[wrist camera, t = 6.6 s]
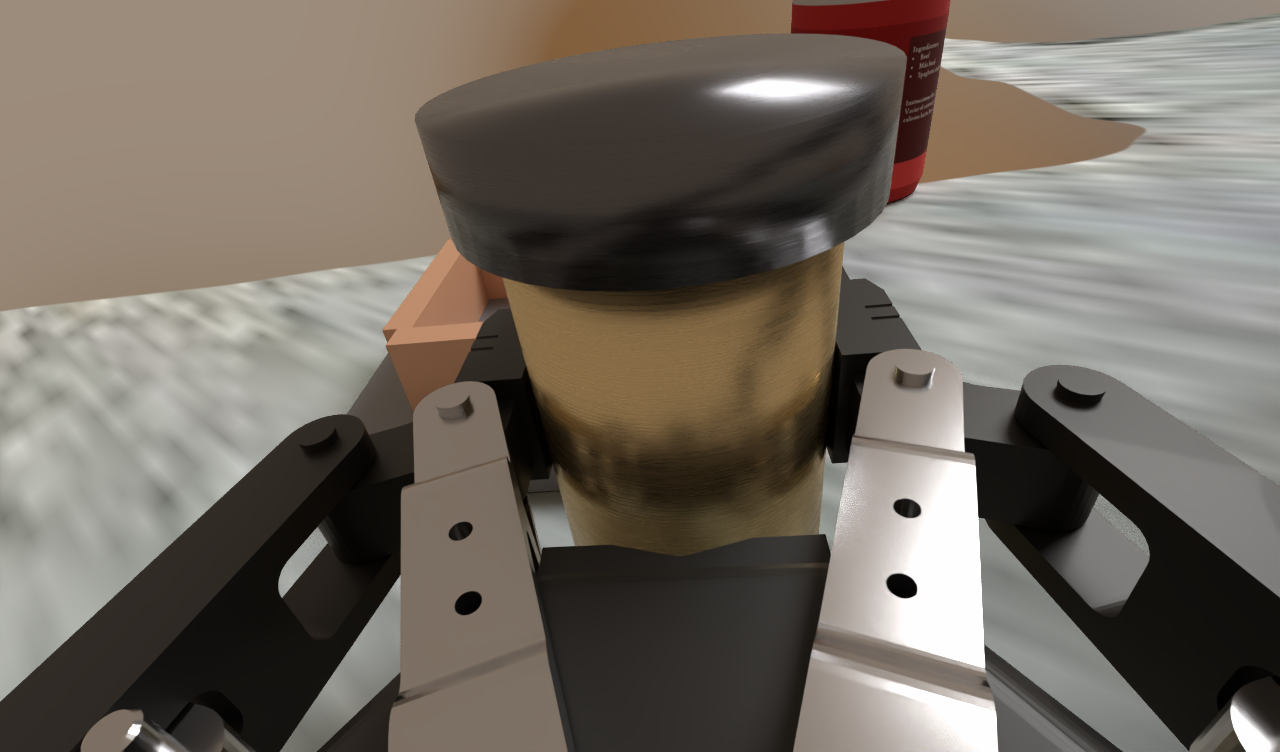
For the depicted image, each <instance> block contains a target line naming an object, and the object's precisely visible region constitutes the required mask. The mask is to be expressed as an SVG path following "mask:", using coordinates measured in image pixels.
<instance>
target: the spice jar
mask: <svg viewBox="0 0 1280 752" xmlns="http://www.w3.org/2000/svg"><path fill="white" fill-rule="evenodd" d="M906 62H907V57H906V55H905V53H904V52H903V51H902V50H900V49H899V48H897V47H896V46H893V45H890V44H888V43H885V42H881V41H876V40H872V39H866V38H860V37H853V36H842V35H827V34H754V35H736V36H721V37H707V38H697V39H686V40H676V41H667V42H658V43H651V44H643V45H635V46H629V47H622V48H615V49H609V50H603V51H597V52H591V53H586V54H580V55H575V56H570V57H565V58H560V59H555V60H551V61H545V62H541V63H537V64H533V65H529V66H524V67H520V68H516V69H512V70H509V71H505V72H501V73H498V74H495V75H491V76H488V77H484V78H481V79H479V80H475V81H473V82H470V83H467V84H464V85H462V86H459V87H456V88H454V89H452V90H449V91H447V92H445V93H443V94H441V95H439V96H437V97H435V98H433V99H432V100H430V101H428V102H427V103H426V104H424V105H423V106H422V107H421V108H420V109H419V110H418V112H417V113H416V114H415V122H416V126H417V129H418V132H419V135H420V138H421V141H422V145H423V148H424V151H425V154H426V158H427V161H428V164H429V167H430V170H431V174H432V176H433V180H434V183H435V187H436V190H437V193H438V196H439V199H440V203H441V206H442V209H443V212H444V216H445V218H446V222H447V225H448V228H449V232H450V235H451V238H452V241H453V243H454V245H455V247H456V249H457V251H458V252H459V253H460V254H461V255H462V256H463V257H464V258H465V259H466V260H467V261H469V262H470V263H472V264H474V265H475V266H477V267H478V268H480V269H482V270H484V271H487V272H489V273H492V274H494V275H497V276H499V277H502V278H503V282H504V286H505V289H506V293H507V297H508V300H509V304H510V308H511V312H512V315H513V319H514V323H515V326H516V330H517V334H518V337H519V341H520V345H521V348H522V352H523V356H524V360H525V363H526V367H527V371H528V374H529V378H530V382H531V385H532V389H533V393H534V396H535V400H536V404H537V408H538V411H539V415H540V419H541V422H542V426H543V430H544V433H545V437H546V441H547V445H548V448H549V452H550V456H551V459H552V463H553V467H554V470H555V474H556V478H557V481H558V485H559V489H560V493H561V496H562V500H563V504H564V507H565V511H566V515H567V518H568V522H569V526H570V529H571V533H572V537H573V541H574V544H575V546H590V545H615V546H621V547H627V548H633V549H638V550H644V551H650V552H656V553H661V554H667V555H673V556H686V555H691V554H694V553H698V552H702V551H706V550H709V549H713V548H717V547H721V546H724V545H728V544H732V543H736V542H739V541H743V540H747V539H750V538H757V537H778V536H798V535H819V525H820V514H821V502H822V491H823V479H824V468H825V456H826V445H827V434H828V422H829V411H830V399H831V388H832V376H833V365H834V353H835V342H836V331H837V319H838V308H839V296H840V285H841V273H842V262H843V250H844V241H846V240H848V239H850V238H852V237H853V236H855V235H856V234H858V233H859V232H860V231H862V230H863V229H864V228H866V227H867V226H869V225H870V224H871V223H872V222H873V221H874V220H875V219H876V218H877V217H878V216H879V215H880V214H881V213H882V211H883V209H884V207H885V206H886V204H887V202H888V200H889V194H890V188H891V180H892V172H893V164H894V156H895V148H896V141H897V133H898V125H899V117H900V109H901V101H902V94H903V86H904V78H905V70H906Z"/></svg>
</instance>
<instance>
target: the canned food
mask: <svg viewBox="0 0 1280 752" xmlns="http://www.w3.org/2000/svg"><path fill="white" fill-rule="evenodd" d="M949 6H950V0H793V2H792V23H791V34H827V35H842V36H853V37H860V38H866V39H872V40H876V41H881V42H885V43H888V44H890V45H893V46H896V47H897V48H899V49H900V50H902V51H903V52H904V53H905V55H906V57H907V62H906V70H905V78H904V86H903V94H902V101H901V109H900V117H899V125H898V133H897V141H896V148H895V156H894V164H893V172H892V180H891V188H890V194H889V200H888V202H887V203H889V202H893V201H896V200H899V199H902V198H904V197H906V196H907V195H909V194H911V193H912V192H913V191H914V190H915V188H916V186H917V184H918V182H919V180H920V178H921V176H922V174H923V168H924V163H925V157H926V151H927V145H928V138H929V132H930V126H931V119H932V114H933V107H934V101H935V95H936V89H937V83H938V77H939V71H940V64H941V58H942V52H943V46H944V40H945V33H946V27H947V21H948V15H949Z"/></svg>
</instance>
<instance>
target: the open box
mask: <svg viewBox="0 0 1280 752" xmlns="http://www.w3.org/2000/svg"><path fill="white" fill-rule="evenodd" d="M509 308H510V304H509V300H508V297H507V293H506V289H505V286H504V282H503V278H502V277H499V276H497V275H494V274H492V273H489V272H487V271H484V270H482V269H480V268H478V267H477V266H475V265H474V264H472V263H470V262H469V261H467V260H466V259H465V258H464V257H463V256H462V255H461V254H460V253H459V252H458V251H457V249H456V247H455V245H454V243H453V241H452V239H449V240H448V241H447V242H446V244H445V245H444V246H443V248H442V249H441V250H440V252H439V253H438V255H437V256H436V257H435V259H434V260H433V261H432V263H431V264H430V266H429V267H428V268H427V270H426V271H425V272H424V274H423V275H422V276H421V278H420V279H419V281H418V282H417V283H416V285H415V286H414V287H413V289H412V290H411V292H410V293H409V294H408V296H407V297H406V298H405V300H404V301H403V303H402V304H401V305H400V307H399V308H398V309H397V311H396V312H395V313H394V315H393V316H392V318H391V319H390V320H389V322H388V323H387V324H386V326H385V327H384V329H383V330H382V331H383V333H384V335H385V338H386V340H387V344H386V348H387V350H388V354H387V356H386V357H385V359H384V360H383V362H382V363H381V365H380V366H379V368H378V369H377V371H376V372H375V373H374V375H373V376H372V378H371V379H370V381H369V382H368V384H367V385H366V387H365V388H364V390H363V391H362V393H361V394H360V396H359V397H358V399H357V400H356V402H355V403H354V405H353V406H352V408H351V409H350V411H349V412H348V414H347V415H352V416H355V417H358V418H359V419H360V420H361V421H362V422H363V424H364V426H365V428H366V430H367V432H368V434H369V435H370V434H374V433H377V432H381V431H384V430H388V429H392V428H395V427H399V426H402V425H405V424H409V423H411V422H413V413H414V411H415V408H416V407H417V405H418V404H419V403H420V402H421V401H422V400H423V399H424V398H425V397H426V396H427V395H429V394H430V393H432V392H434V391H435V390H437V389H439V388H442V387H444V386H447V385H450V384H454V382H455V380H456V378H457V376H458V374H459V372H460V369H461V367H462V365H463V363H464V361H465V359H466V357H467V355H468V353H469V352H471V346H472V344H473V342H474V340H476V336H477V334H478V332H479V330H480V328H481V326H482V324H483V322H484V321H485V320H487V319H488V318H489V317H490V316H491V315H492V314H494V313H495V312H496V311H497V310H498V309H509ZM542 491H560V489H559V485H558V481H557V478H556V474H555V470H554V467H553V465H552V469H551V474H550V479H542V480H530V484H529V488H528V492H542Z"/></svg>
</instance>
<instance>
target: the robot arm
mask: <svg viewBox="0 0 1280 752" xmlns="http://www.w3.org/2000/svg"><path fill="white" fill-rule="evenodd" d="M826 446H827V449H828V453H829V456H830V459H831V462H832V463H846V462H848V464H847V470H846V475H845V481H844V486H843V492H842V497H841V502H840V508H839V513H838V519H837V524H836V530H835V535H834V541H833V546H832V552H831V553H830V550H829V546H828V542H827V539H826V535H825V534H819V535H798V536H778V537H757V538H750V539H747V540H743V541H739V542H736V543H732V544H728V545H724V546H721V547H717V548H713V549H709V550H706V551H702V552H698V553H694V554H691V555H686V556H673V555H667V554H661V553H656V552H650V551H644V550H638V549H633V548H627V547H621V546H615V545H590V546H569V547H548V548H543V549H542V551H541V547H540V543H539V539H538V535H537V531H536V527H535V523H534V519H533V515H532V510H531V506H530V503H529V500H528V497H527V492H528V488H529V484H530V480H542V479H550V474H551V469H552V465H553V463H552V459H551V456H550V452H549V448H548V445H547V441H546V437H545V433H544V430H543V426H542V422H541V419H540V415H539V411H538V408H537V404H536V400H535V396H534V393H533V389H532V385H531V382H530V378H529V374H528V371H527V367H526V363H525V360H524V356H523V352H522V348H521V345H520V341H519V337H518V334H517V330H516V326H515V323H514V319H513V315H512V312H511V308H509V309H498V310H497V311H496V312H495V313H494V314H492V315H491V316H490V317H489V318H488V319H487V320H485V321H484V322H483V324H482V326H481V328H480V330H479V332H478V334H477V336H476V340H474V342H473V344H472V346H471V352H469V353H468V355H467V357H466V359H465V361H464V363H463V365H462V367H461V369H460V372H459V374H458V376H457V378H456V380H455V382H454V384H450V385H447V386H444V387H442V388H439V389H437V390H435V391H434V392H432V393H430V394H429V395H427V396H426V397H425V398H424V399H423V400H422V401H421V402H420V403H419V404H418V405H417V407H416V408H415V411H414V413H413V422H411V423H409V424H405V425H402V426H399V427H395V428H392V429H388V430H384V431H381V432H377V433H374V434H370V435H369V434H368V432H367V430H366V428H365V426H364V424H363V422H362V421H361V420H360V419H359V418H358V417H355V416H352V415H343V414H341V415H332V416H327V417H323V418H320V419H317V420H315V421H312V422H310V423H308V424H306V425H304V426H302V427H300V428H299V429H297V430H296V431H294V432H293V433H291V434H290V435H289V436H288V437H287V438H285V439H284V440H283V441H282V442H281V443H280V444H279V445H278V446H277V447H276V448H275V449H274V450H272V451H271V452H270V453H269V454H268V455H267V456H266V457H265V458H264V459H263V460H262V461H261V462H259V463H258V464H257V465H256V466H255V467H254V468H253V469H252V470H251V471H250V472H249V473H248V474H246V475H245V476H244V477H243V478H242V479H241V480H240V481H239V482H238V483H237V484H236V485H235V486H233V487H232V488H231V489H230V490H229V491H228V492H227V493H226V494H225V495H224V496H223V497H222V498H220V499H219V500H218V501H217V502H216V503H215V504H214V505H213V506H212V507H211V508H210V509H209V510H207V511H206V512H205V513H204V514H203V515H202V516H201V517H200V518H199V519H198V520H197V521H196V522H194V523H193V524H192V525H191V526H190V527H189V528H188V529H187V530H186V531H185V532H184V533H183V534H182V535H180V536H179V537H178V538H177V539H176V540H175V541H174V542H173V543H172V544H171V545H170V546H169V547H167V548H166V549H165V550H164V551H163V552H162V553H161V554H160V555H159V556H158V557H157V558H156V559H154V560H153V561H152V562H151V563H150V564H149V565H148V566H147V567H146V568H145V569H144V570H143V571H141V572H140V573H139V574H138V575H137V576H136V577H135V578H134V579H133V580H132V581H131V582H130V583H128V584H127V585H126V586H125V587H124V588H123V589H122V590H121V591H120V592H119V593H118V594H117V595H115V596H114V597H113V598H112V599H111V600H110V601H109V602H108V603H107V604H106V605H105V606H104V607H102V608H101V609H100V610H99V611H98V612H97V613H96V614H95V615H94V616H93V617H92V618H91V619H89V620H88V621H87V622H86V623H85V624H84V625H83V626H82V627H81V628H80V629H79V630H78V631H76V632H75V633H74V634H73V635H72V636H71V637H70V638H69V639H68V640H67V641H66V642H65V643H63V644H62V645H61V646H60V647H59V648H58V649H57V650H56V651H55V652H54V653H53V654H52V655H50V656H49V657H48V658H47V659H46V660H45V661H44V662H43V663H42V664H41V665H40V666H39V667H37V668H36V669H35V670H34V671H33V672H32V673H31V674H30V675H29V676H28V677H27V678H26V679H24V680H23V681H22V682H21V683H20V684H19V685H18V686H17V687H16V688H15V689H14V690H13V691H11V692H10V693H9V694H8V695H7V696H6V697H5V698H4V699H3V700H2V701H1V702H0V752H280V750H281V749H282V748H283V746H284V745H285V743H286V742H287V740H288V739H289V737H290V736H291V734H292V733H293V731H294V730H295V728H296V727H297V726H298V724H299V723H300V721H301V720H302V718H303V717H304V715H305V714H306V712H307V711H308V709H309V708H310V707H311V705H312V704H313V702H314V701H315V699H316V698H317V696H318V695H319V693H320V692H321V690H322V689H323V687H324V686H325V685H326V683H327V682H328V680H329V679H330V677H331V676H332V674H333V673H334V671H335V670H336V668H337V667H338V666H339V664H340V663H341V661H342V660H343V658H344V657H345V655H346V654H347V652H348V651H349V649H350V648H351V646H352V645H353V644H354V642H355V641H356V639H357V638H358V636H359V635H360V633H361V632H362V630H363V629H364V627H365V626H366V624H367V623H368V622H369V620H370V619H371V617H372V616H373V614H374V613H375V611H376V610H377V608H378V607H379V605H380V604H381V603H382V601H383V600H384V598H385V597H386V595H387V594H388V592H389V591H390V589H391V588H392V586H393V585H394V583H395V582H396V581H397V579H398V578H399V576H400V575H401V672H400V673H399V674H398V675H397V676H396V677H395V678H394V679H393V680H392V681H391V682H390V683H389V684H388V685H387V686H385V687H384V688H383V689H382V690H381V691H380V692H379V693H378V694H377V695H376V696H375V697H374V698H373V699H372V700H371V701H370V702H369V703H368V704H367V705H366V706H364V707H363V708H362V709H361V710H360V711H359V712H358V713H357V714H356V715H355V716H354V717H353V718H352V719H351V720H350V721H349V722H348V723H347V724H346V725H344V726H343V727H342V728H341V729H340V730H339V731H338V732H337V733H336V734H335V735H334V736H333V737H332V738H331V739H330V740H329V741H328V742H327V743H326V744H325V745H323V746H322V747H321V748H320V749H319V750H318V751H317V752H1122V751H1121V750H1120V749H1119V748H1117V747H1116V746H1115V745H1113V744H1112V743H1111V742H1109V741H1108V740H1107V739H1106V738H1104V737H1103V736H1102V735H1100V734H1099V733H1098V732H1097V731H1095V730H1094V729H1093V728H1091V727H1090V726H1089V725H1088V724H1086V723H1085V722H1084V721H1082V720H1081V719H1080V718H1078V717H1077V716H1076V715H1075V714H1073V713H1072V712H1071V711H1069V710H1068V709H1067V708H1066V707H1064V706H1063V705H1062V704H1060V703H1059V702H1058V701H1057V700H1055V699H1054V698H1053V697H1051V696H1050V695H1049V694H1047V693H1046V692H1045V691H1044V690H1042V689H1041V688H1040V687H1038V686H1037V685H1036V684H1035V683H1033V682H1032V681H1031V680H1029V679H1028V678H1027V677H1026V676H1024V675H1023V674H1022V673H1020V672H1019V671H1018V670H1017V669H1015V668H1014V667H1013V666H1011V665H1010V664H1009V663H1007V662H1006V661H1005V660H1004V659H1002V658H1001V657H1000V656H998V655H997V654H996V653H995V652H993V651H992V650H991V649H989V648H988V647H987V646H986V645H984V640H983V619H982V597H981V575H980V553H979V531H978V517H979V518H984V519H985V520H986V522H987V524H988V526H989V527H990V528H991V530H992V531H993V532H994V533H995V534H996V536H997V537H998V538H999V539H1000V540H1001V541H1002V542H1003V543H1004V545H1005V546H1006V547H1007V548H1008V549H1009V550H1010V551H1011V552H1012V553H1013V555H1014V556H1015V557H1016V558H1017V559H1018V560H1019V561H1020V562H1021V564H1022V565H1023V566H1024V567H1025V568H1026V569H1027V570H1028V571H1029V573H1030V574H1031V575H1032V576H1033V577H1034V578H1035V579H1036V580H1037V582H1038V583H1039V584H1040V585H1041V586H1042V587H1043V588H1044V589H1045V590H1046V592H1047V593H1048V594H1049V595H1050V596H1051V597H1052V598H1053V599H1054V601H1055V602H1056V603H1057V604H1058V605H1059V606H1060V607H1061V608H1062V610H1063V611H1064V612H1065V613H1066V614H1067V615H1068V616H1069V617H1070V618H1071V620H1072V621H1073V622H1074V623H1075V624H1076V625H1077V626H1078V627H1079V629H1080V630H1081V631H1082V632H1083V633H1084V634H1085V635H1086V636H1087V638H1088V639H1089V640H1090V641H1091V642H1092V643H1093V644H1094V645H1095V647H1096V648H1097V649H1098V650H1099V651H1100V652H1101V653H1102V654H1103V655H1104V657H1105V658H1106V659H1107V660H1108V661H1109V662H1110V663H1111V664H1112V666H1113V667H1114V668H1115V669H1116V670H1117V671H1118V672H1119V673H1120V675H1121V676H1122V677H1123V678H1124V679H1125V680H1126V681H1127V682H1128V683H1129V685H1130V686H1131V687H1132V688H1133V689H1134V690H1135V691H1136V692H1137V694H1138V695H1139V696H1140V697H1141V698H1142V699H1143V700H1144V701H1145V703H1146V704H1147V705H1148V706H1149V707H1150V708H1151V709H1152V710H1153V711H1154V713H1155V714H1156V715H1157V716H1158V717H1159V718H1160V719H1161V720H1162V722H1163V723H1164V724H1165V725H1166V726H1167V727H1168V728H1169V729H1170V731H1171V732H1172V733H1173V734H1174V735H1175V736H1176V737H1177V738H1178V740H1179V741H1180V742H1181V743H1182V744H1183V745H1184V746H1185V747H1186V748H1187V750H1188V751H1189V752H1280V486H1279V485H1277V484H1276V483H1274V482H1273V481H1271V480H1270V479H1268V478H1267V477H1265V476H1264V475H1262V474H1261V473H1259V472H1257V471H1256V470H1254V469H1253V468H1251V467H1250V466H1248V465H1247V464H1245V463H1244V462H1242V461H1241V460H1239V459H1238V458H1236V457H1235V456H1233V455H1232V454H1230V453H1229V452H1227V451H1225V450H1224V449H1222V448H1221V447H1219V446H1218V445H1216V444H1215V443H1213V442H1212V441H1210V440H1209V439H1207V438H1206V437H1204V436H1203V435H1201V434H1200V433H1198V432H1196V431H1195V430H1193V429H1192V428H1190V427H1189V426H1187V425H1186V424H1184V423H1183V422H1181V421H1180V420H1178V419H1177V418H1175V417H1174V416H1172V415H1171V414H1169V413H1168V412H1166V411H1164V410H1163V409H1161V408H1160V407H1158V406H1157V405H1155V404H1154V403H1152V402H1151V401H1149V400H1148V399H1146V398H1145V397H1143V396H1142V395H1140V394H1139V393H1137V392H1135V391H1134V390H1132V389H1131V388H1129V387H1128V386H1126V385H1125V384H1123V383H1122V382H1120V381H1118V380H1117V379H1115V378H1113V377H1111V376H1109V375H1106V374H1104V373H1101V372H1098V371H1095V370H1091V369H1088V368H1083V367H1078V366H1069V365H1051V366H1045V367H1041V368H1037V369H1035V370H1033V371H1031V372H1030V373H1029V374H1027V376H1026V377H1025V378H1024V382H1023V385H1022V388H1021V391H1018V390H1010V389H1001V388H993V387H985V386H978V385H973V384H969V383H965V382H963V379H962V374H961V372H960V370H959V369H958V368H957V367H956V365H954V364H953V363H952V362H951V361H949V360H947V359H946V358H944V357H942V356H940V355H937V354H934V353H931V352H927V351H923V350H921V348H920V347H919V345H918V343H917V342H916V340H915V339H914V337H913V336H912V334H911V332H910V331H909V329H908V328H907V326H906V325H905V323H904V321H903V320H902V318H900V317H899V313H898V312H897V310H896V309H895V307H894V306H892V302H891V301H890V299H889V298H888V296H887V294H886V293H885V291H884V290H883V289H882V288H880V287H878V286H877V285H875V284H873V283H872V282H870V281H868V280H867V279H853V280H850V279H849V277H848V275H847V274H846V272H845V270H844V268H843V266H842V273H841V285H840V296H839V308H838V319H837V331H836V342H835V353H834V365H833V376H832V388H831V399H830V411H829V422H828V434H827V445H826ZM1099 493H1100V494H1101V495H1102V496H1103V497H1104V498H1105V499H1107V500H1108V501H1109V502H1110V503H1111V504H1112V505H1114V506H1115V507H1116V508H1117V509H1118V510H1119V511H1120V512H1122V513H1123V514H1124V515H1125V516H1126V517H1127V518H1129V519H1130V520H1131V521H1132V522H1133V523H1134V524H1135V525H1136V526H1137V527H1138V528H1139V529H1140V530H1141V532H1142V533H1143V535H1144V537H1145V539H1146V541H1147V543H1148V546H1149V551H1150V557H1149V556H1147V555H1146V554H1145V553H1144V552H1143V551H1142V550H1141V549H1140V548H1138V547H1137V546H1136V545H1135V544H1134V543H1133V542H1132V541H1131V540H1130V539H1128V538H1127V537H1126V536H1125V535H1124V534H1123V533H1122V532H1121V531H1119V530H1118V529H1117V528H1116V527H1115V526H1114V525H1113V524H1112V523H1111V522H1109V521H1108V520H1107V519H1106V518H1105V517H1104V516H1103V515H1102V514H1100V513H1099V512H1098V511H1097V510H1096V509H1095V508H1094V507H1093V506H1094V504H1095V502H1096V500H1097V497H1098V495H1099ZM317 527H318V528H319V529H320V531H321V532H322V534H323V536H324V537H325V539H326V540H327V542H328V544H327V545H326V546H325V547H324V548H323V550H322V551H321V552H320V553H319V554H318V556H317V557H316V558H315V559H314V560H313V562H312V563H311V564H310V565H309V566H308V568H307V569H306V570H305V571H304V572H303V574H302V575H301V576H300V577H299V578H298V580H297V581H296V582H295V583H294V584H293V586H292V587H291V588H290V589H289V590H288V592H287V593H286V594H285V595H284V596H283V598H281V596H280V594H279V590H278V581H279V577H280V574H281V571H282V569H283V567H284V565H285V564H286V562H287V561H288V560H289V559H290V558H291V556H292V555H293V554H294V553H295V552H296V551H297V550H298V548H299V547H300V546H301V545H302V544H303V543H304V542H305V540H306V539H307V538H308V537H309V536H310V535H311V533H312V532H313V531H314V530H315V529H316V528H317Z"/></svg>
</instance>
